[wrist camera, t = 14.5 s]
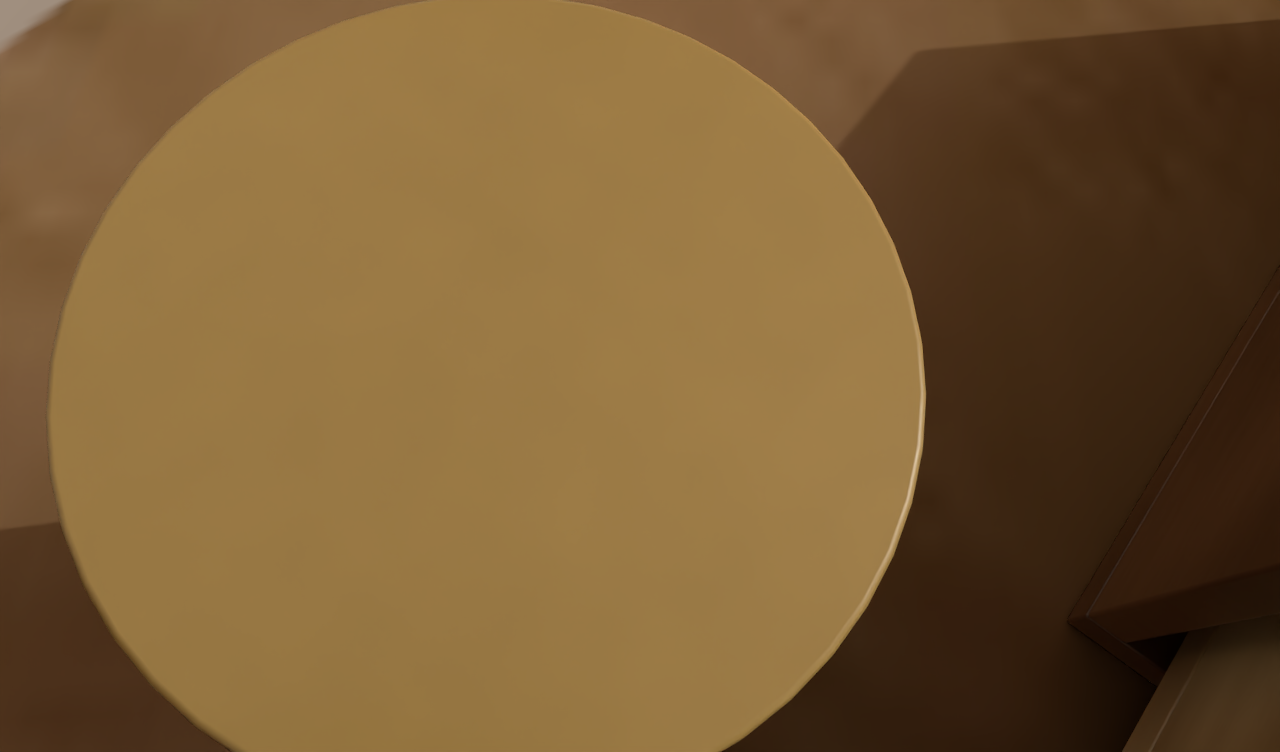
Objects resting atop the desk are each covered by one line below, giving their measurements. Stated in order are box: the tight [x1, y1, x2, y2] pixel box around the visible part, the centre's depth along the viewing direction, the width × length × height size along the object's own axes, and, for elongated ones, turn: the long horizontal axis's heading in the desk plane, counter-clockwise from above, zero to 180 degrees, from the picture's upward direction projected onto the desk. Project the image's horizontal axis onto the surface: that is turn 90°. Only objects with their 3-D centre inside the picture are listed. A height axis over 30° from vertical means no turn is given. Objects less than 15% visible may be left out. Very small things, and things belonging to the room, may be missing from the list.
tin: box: [46, 0, 926, 752], centre depth 11 cm, size 5×5×11 cm
